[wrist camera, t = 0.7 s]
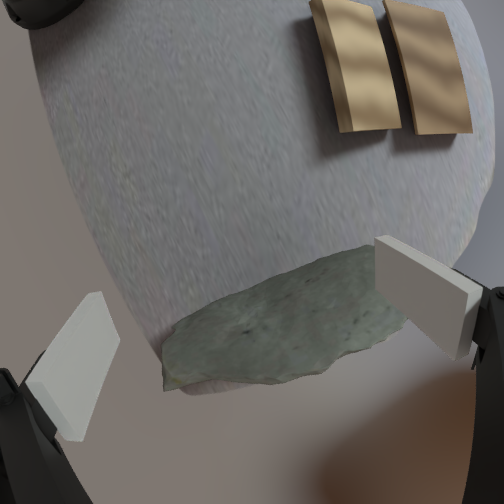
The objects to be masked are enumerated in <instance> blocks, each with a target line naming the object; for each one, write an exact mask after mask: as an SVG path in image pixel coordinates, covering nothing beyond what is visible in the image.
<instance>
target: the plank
mask: <svg viewBox="0 0 504 504" xmlns="http://www.w3.org/2000/svg"><path fill="white" fill-rule="evenodd" d="M309 5H310V9H311V12H312V15H313V19H314V22H315V26H316V29H317V33H318V37H319V40H320V44H321V48H322V52H323V56H324V60H325V64H326V68H327V73H328V77H329V81H330V86H331V91H332V95H333V100H334V105H335V110H336V115H337V121H338V126H339V132H340V133H345V132H356V131H369V130H385V129H397V128H402V127H401V121H400V115H399V110H398V104H397V99H396V94H395V89H394V85H393V80H392V76H391V72H390V68H389V64H388V60H387V56H386V52H385V48H384V45H383V41H382V38H381V34H380V31H379V28H378V25H377V21H376V18H375V15H374V12H373V9H372V7H370V6H367V5H363V4H360V3H356V2H352V1H348V0H311V1H309Z"/></svg>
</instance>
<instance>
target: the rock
mask: <svg viewBox="0 0 504 504" xmlns="http://www.w3.org/2000/svg"><path fill="white" fill-rule="evenodd" d="M407 319H408V318H407V317H406V316H405V315H404V314H403V313H402V312H401V311H400V310H398V309H397V308H396V307H395V306H394V305H393V304H392V303H391V302H389V301H388V300H387V299H386V298H385V297H384V296H383V295H382V294H380V293H379V292H378V291H377V290H376V289H375V246H371V245H364V246H362V247H359V248H356V249H351V250H347V251H342V252H339V253H335V254H332V255H330V256H327V257H322V258H319V259H317V260H316V261H314V262H312V263H309V264H306V265H304V266H301V267H299V268H297V269H294V270H292V271H289V272H287V273H283V274H279V275H276V276H274V277H272V278H269V279H267V280H265V281H263V282H261V283H259V284H257V285H255V286H253V287H251V288H248V289H246V290H243V291H241V292H238V293H236V294H231V295H228V296H226V297H224V298H221V299H218V300H216V301H214V302H212V303H210V304H209V305H207V306H205V307H204V308H202V309H200V310H199V311H197V312H195V313H193V314H191V315H189V316H187V317H185V318H183V319H181V320H180V321H178V322H177V323H176V324H175V325H174V326H172V328H173V329H175V330H176V331H175V332H174V333H173V334H172V335H171V336H170V337H169V338H167V339H166V340H165V342H163V343H162V344H161V351H162V376H163V389H164V391H169V390H174V389H177V388H181V387H184V386H187V385H190V384H193V383H199V382H203V381H207V380H212V379H217V380H224V381H231V382H238V383H251V384H266V385H273V384H280V383H286V382H288V381H291V380H294V379H296V378H299V377H302V376H307V375H316V374H322V373H323V372H324V371H326V370H327V369H328V368H329V367H330V366H331V365H332V364H333V363H334V362H335V361H336V360H337V359H339V358H341V357H343V356H345V355H347V354H350V353H355V352H358V351H361V350H365V349H369V348H371V347H372V346H373V345H374V344H376V343H378V342H381V341H385V339H386V338H387V337H388V336H389V335H390V334H392V333H394V332H396V331H398V330H400V329H402V328H403V325H404V323H405V321H406V320H407Z"/></svg>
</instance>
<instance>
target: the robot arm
mask: <svg viewBox="0 0 504 504" xmlns="http://www.w3.org/2000/svg"><path fill="white" fill-rule="evenodd" d="M2 1H3V4H4V6H5V8H6V10H7V12H8V14H9V16H10V18H11V20H12V21H13V22H14V23H16V24H17V25H19V26H21V27H22V28H25V29H40V28H43V27H46V26H49V25H51V24H53V23H55V22H57V21H59V20H61V19H62V18H64V17H65V16H67V15H68V14H69V13H71V12H72V11H73V10H74V9H76V8H77V7H78V6H79V5H80V4H81V3H82V2H83V1H84V0H2ZM375 289H376V290H377V291H378V292H379V293H380V294H382V295H383V296H384V297H385V298H386V299H387V300H388V301H389V302H391V303H392V304H393V305H394V306H395V307H396V308H397V309H398V310H400V311H401V312H402V313H403V314H404V315H405V316H406V317H407V318H408V319H409V320H411V321H412V322H413V323H414V324H415V325H416V326H417V327H418V328H419V329H420V330H421V331H423V332H424V333H425V334H426V335H427V336H428V337H429V338H430V339H431V340H432V341H433V342H434V343H435V344H436V345H437V346H439V347H440V348H441V349H442V350H443V351H444V352H445V353H446V354H447V355H448V356H449V357H450V358H451V359H452V360H453V361H456V360H458V359H460V358H462V357H464V356H466V355H468V354H469V351H470V347H471V343H472V340H473V341H474V342H475V343H476V344H477V345H478V347H477V351H476V354H475V358H474V361H473V364H472V368H471V369H472V370H474V367H475V365H476V408H475V423H474V433H473V443H472V451H471V458H470V465H469V471H468V476H467V482H466V487H465V491H464V496H463V500H462V504H504V287H495V288H493V289H492V290H490V289H488V288H487V287H485V286H483V285H482V284H480V283H478V282H477V281H475V280H473V279H471V278H469V277H468V276H466V275H465V276H464V274H463V273H461V272H459V271H458V270H456V269H452V268H449V267H447V266H445V265H443V264H442V263H440V262H438V261H436V260H434V259H432V258H431V257H429V256H427V255H425V254H423V253H421V252H420V251H418V250H416V249H414V248H412V247H410V246H408V245H406V244H404V243H403V242H401V241H399V240H397V239H395V238H393V237H391V236H389V235H384V236H380V237H375ZM119 342H120V338H119V336H118V334H117V331H116V329H115V326H114V324H113V321H112V319H111V317H110V313H109V311H108V308H107V306H106V303H105V300H104V297H103V294H102V292H101V291H100V292H94V293H89V294H87V295H86V297H85V298H84V299H83V301H82V302H81V303H80V304H79V306H78V307H77V308H76V310H75V311H74V312H73V314H72V315H71V316H70V318H69V319H68V321H67V322H66V323H65V325H64V326H63V327H62V329H61V330H60V331H59V333H58V334H57V336H56V337H55V338H54V340H53V341H52V342H51V344H50V346H49V347H48V348H47V349H46V350H45V351H44V352H43V353H42V354H40V356H39V357H38V359H37V360H36V362H35V364H34V365H33V366H32V367H31V370H29V372H28V374H27V375H26V377H25V378H24V380H23V381H22V383H21V384H20V386H19V387H18V385H17V383H16V382H15V380H14V378H13V377H12V375H11V373H10V372H9V370H8V369H6V368H0V504H93V503H92V501H91V499H90V498H89V496H88V495H87V493H86V492H85V490H84V488H83V487H82V485H81V483H80V482H79V480H78V478H77V476H76V475H75V473H74V471H73V469H72V467H71V465H70V464H69V461H68V460H67V458H66V456H65V454H64V452H63V450H62V448H61V446H60V444H59V442H58V441H57V440H56V439H55V437H54V436H55V434H56V431H57V430H58V431H59V432H60V434H61V435H62V436H63V437H64V439H65V440H68V441H83V439H84V436H85V433H86V430H87V427H88V424H89V421H90V418H91V415H92V412H93V409H94V407H95V404H96V401H97V398H98V396H99V393H100V390H101V388H102V385H103V382H104V380H105V377H106V374H107V372H108V369H109V367H110V364H111V362H112V359H113V357H114V354H115V352H116V349H117V347H118V345H119Z"/></svg>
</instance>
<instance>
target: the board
mask: <svg viewBox="0 0 504 504" xmlns="http://www.w3.org/2000/svg"><path fill="white" fill-rule="evenodd" d="M382 2H383V5H384V8H385V11H386V14H387V17H388V20H389V23H390V26H391V29H392V32H393V36H394V39H395V42H396V46H397V49H398V53H399V57H400V61H401V65H402V69H403V73H404V77H405V81H406V86H407V91H408V96H409V101H410V106H411V111H412V117H413V123H414V129H415V135H422V134H451V133H473V130H472V123H471V116H470V110H469V104H468V99H467V94H466V89H465V84H464V80H463V75H462V71H461V67H460V63H459V59H458V56H457V52H456V49H455V45H454V42H453V38H452V35H451V32H450V29H449V26H448V23H447V20H446V17H445V15H444V12H440V11H437V10H433V9H429V8H425V7H421V6H416V5H412V4H407V3H402V2H397V1H391V0H383V1H382Z"/></svg>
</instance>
